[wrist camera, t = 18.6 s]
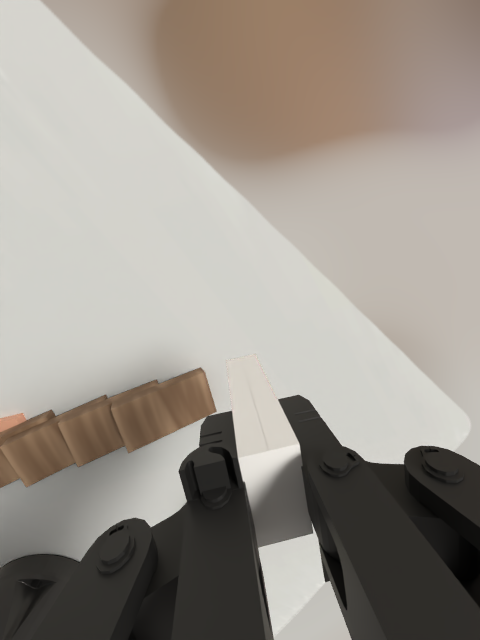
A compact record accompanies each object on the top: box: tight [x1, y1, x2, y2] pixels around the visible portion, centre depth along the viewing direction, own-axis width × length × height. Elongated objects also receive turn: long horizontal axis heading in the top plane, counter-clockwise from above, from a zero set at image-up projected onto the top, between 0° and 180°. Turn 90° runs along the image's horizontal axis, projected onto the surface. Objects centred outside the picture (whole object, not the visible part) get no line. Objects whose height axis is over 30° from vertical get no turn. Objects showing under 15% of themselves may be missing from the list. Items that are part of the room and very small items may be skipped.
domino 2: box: [58, 380, 158, 467], centre depth 28 cm, size 2×5×10 cm
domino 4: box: [0, 410, 56, 488], centre depth 28 cm, size 2×5×10 cm
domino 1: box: [111, 368, 217, 453], centre depth 28 cm, size 2×5×10 cm
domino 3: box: [0, 395, 108, 487], centre depth 28 cm, size 2×5×10 cm
